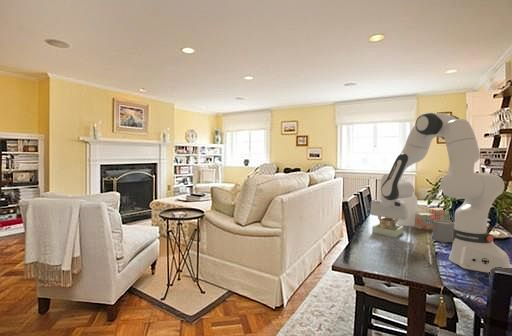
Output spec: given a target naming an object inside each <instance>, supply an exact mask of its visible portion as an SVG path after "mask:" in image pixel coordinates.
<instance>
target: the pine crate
mask: <svg viewBox="0 0 512 336" xmlns="http://www.w3.org/2000/svg"><path fill="white" fill-rule="evenodd" d="M395 221H396V220H395V218H388V217H381V219H380V221H379V223H380V228H384V229H390V230H391V229H393V228H395V227H396V226H393V223H395Z"/></svg>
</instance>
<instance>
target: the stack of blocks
mask: <svg viewBox="0 0 512 336" xmlns="http://www.w3.org/2000/svg"><path fill="white" fill-rule="evenodd" d="M443 208H444V207H430V208H428V212H418V213H415V226H414V227H415V228H416V229H419V230H433V220H448V221H451V220H450V215H449V212H447V211H444V210H443Z"/></svg>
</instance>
